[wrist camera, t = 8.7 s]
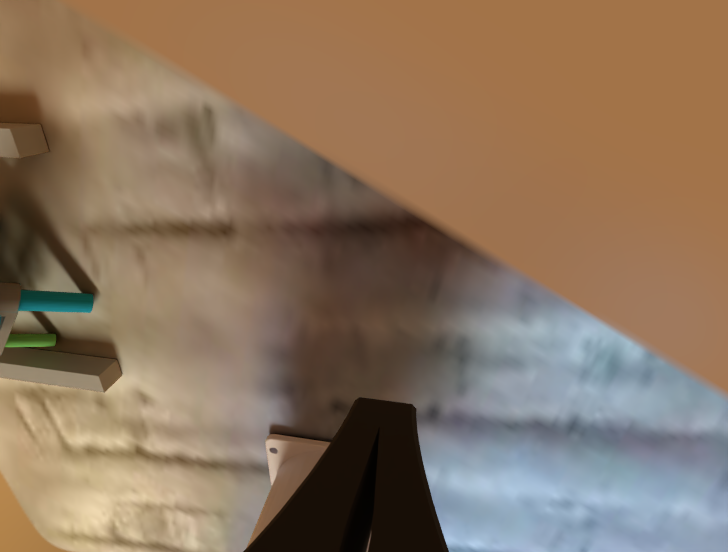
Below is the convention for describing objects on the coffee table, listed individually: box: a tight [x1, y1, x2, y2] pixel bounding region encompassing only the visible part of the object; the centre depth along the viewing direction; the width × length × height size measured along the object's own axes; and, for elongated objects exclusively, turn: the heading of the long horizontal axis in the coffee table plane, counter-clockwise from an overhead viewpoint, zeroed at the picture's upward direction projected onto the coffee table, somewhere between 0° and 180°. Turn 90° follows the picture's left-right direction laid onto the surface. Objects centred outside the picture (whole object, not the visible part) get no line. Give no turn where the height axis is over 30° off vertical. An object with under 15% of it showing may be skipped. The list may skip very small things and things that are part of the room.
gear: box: [0, 282, 93, 356], centre depth 21 cm, size 11×6×10 cm
